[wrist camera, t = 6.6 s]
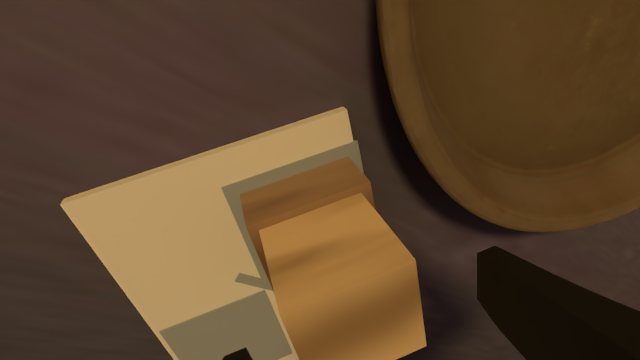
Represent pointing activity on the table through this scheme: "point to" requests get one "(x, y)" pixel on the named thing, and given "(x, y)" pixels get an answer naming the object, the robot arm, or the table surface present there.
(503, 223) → the plant saucer
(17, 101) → the table surface
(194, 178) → the board
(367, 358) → the oak block
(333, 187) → the walnut block
